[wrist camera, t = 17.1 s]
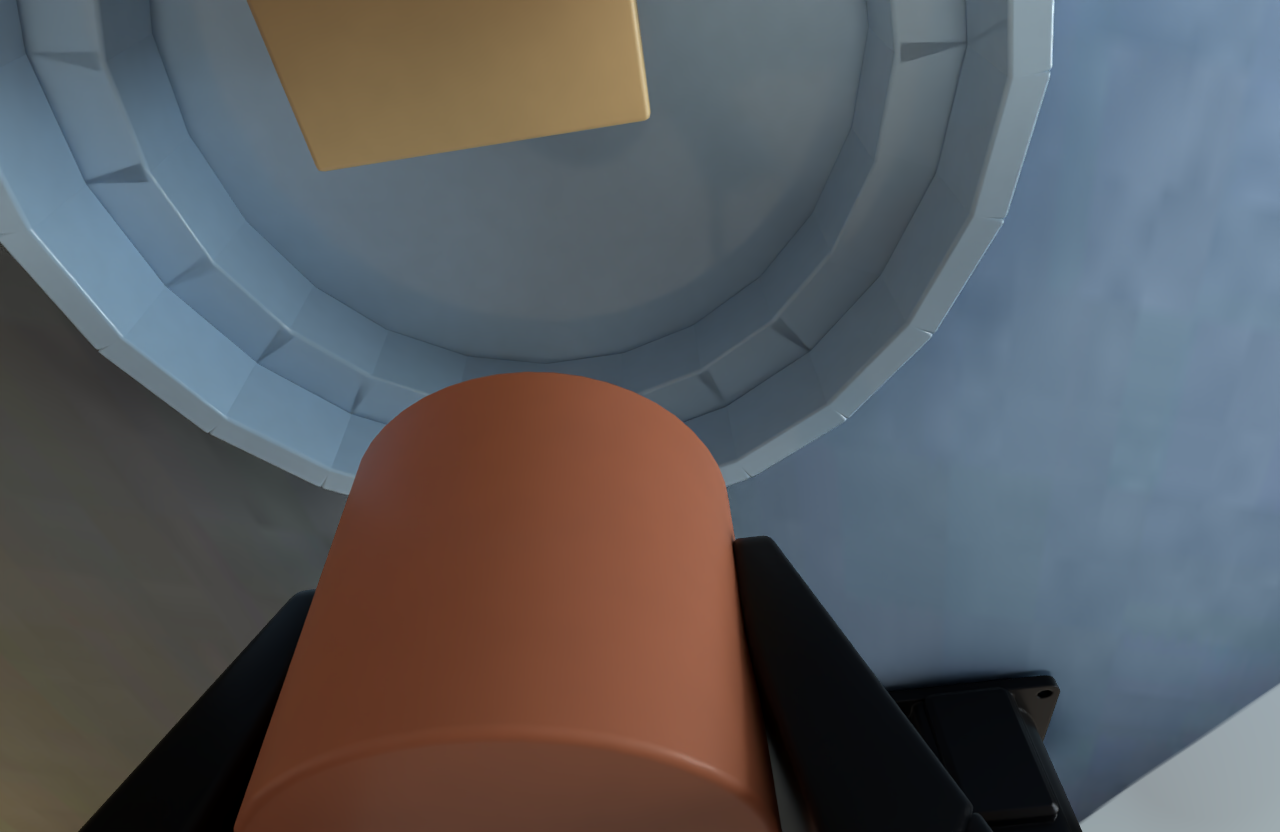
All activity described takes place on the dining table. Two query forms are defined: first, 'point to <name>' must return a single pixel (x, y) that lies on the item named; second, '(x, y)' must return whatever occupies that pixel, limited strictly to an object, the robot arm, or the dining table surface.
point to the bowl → (520, 219)
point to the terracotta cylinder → (523, 631)
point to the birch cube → (451, 72)
